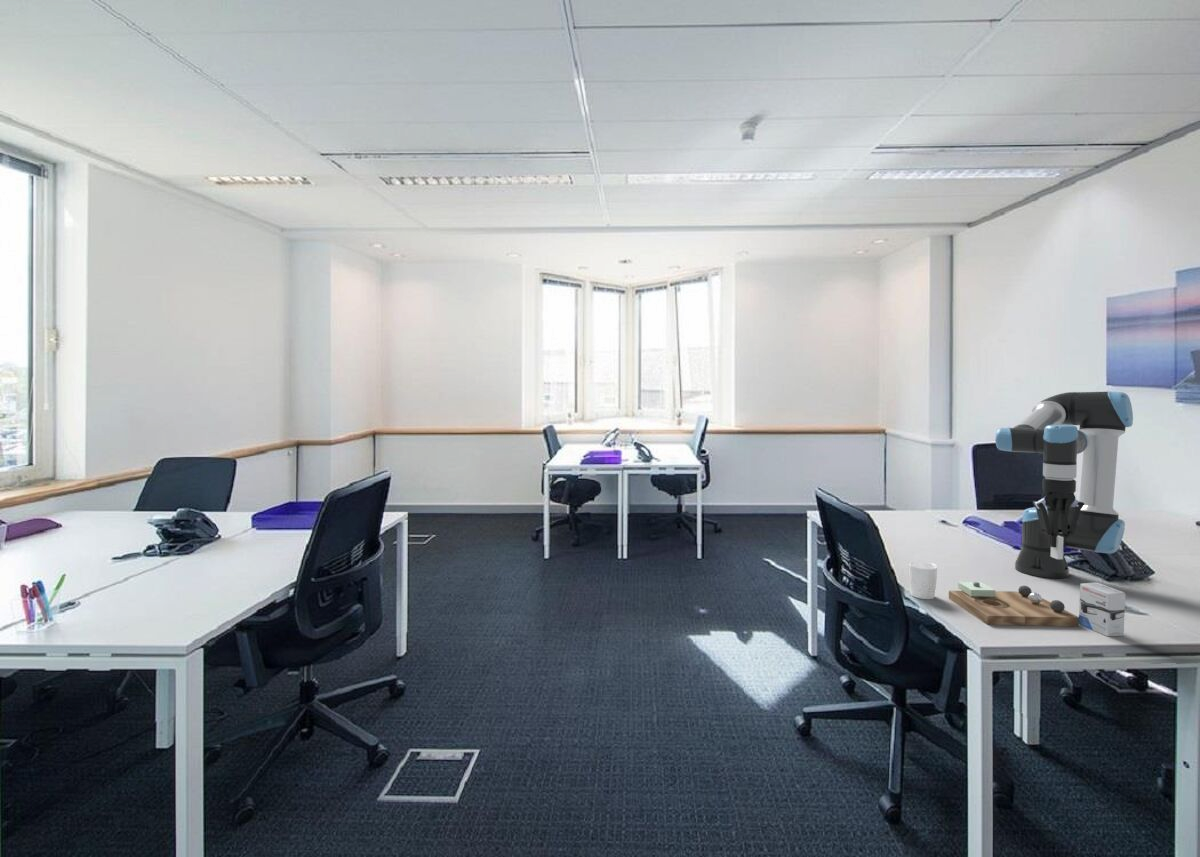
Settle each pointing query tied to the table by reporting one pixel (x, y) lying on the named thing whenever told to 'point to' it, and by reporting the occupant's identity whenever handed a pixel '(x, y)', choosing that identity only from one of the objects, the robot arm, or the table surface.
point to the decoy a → (1024, 590)
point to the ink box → (1102, 609)
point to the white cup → (922, 579)
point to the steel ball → (1035, 598)
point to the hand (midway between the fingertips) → (1056, 557)
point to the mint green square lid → (976, 589)
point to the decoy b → (1057, 606)
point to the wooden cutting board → (1012, 610)
